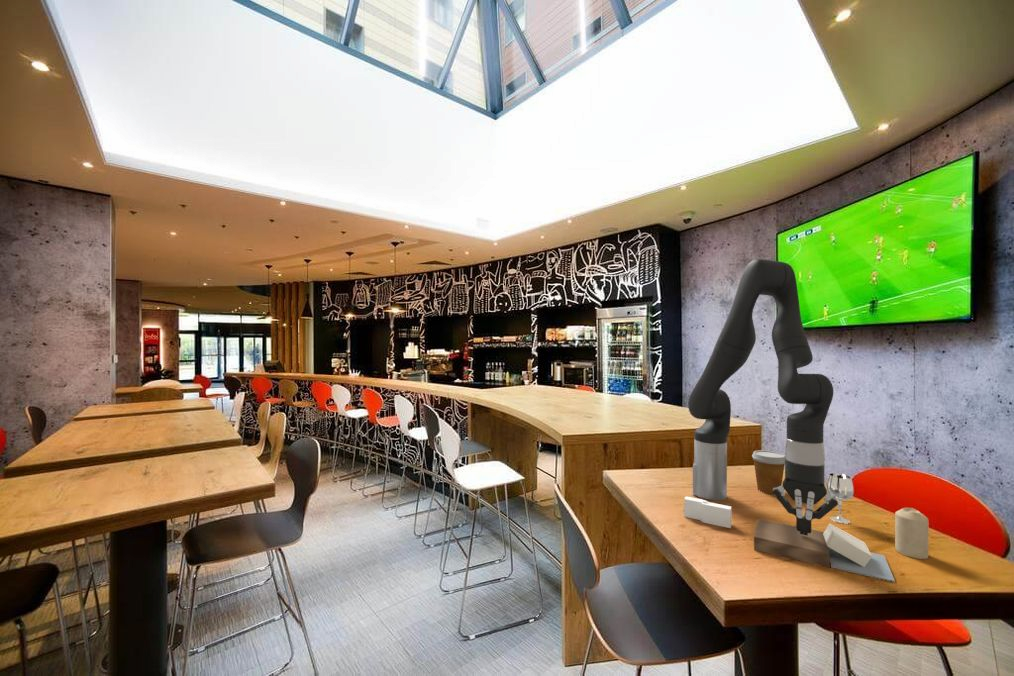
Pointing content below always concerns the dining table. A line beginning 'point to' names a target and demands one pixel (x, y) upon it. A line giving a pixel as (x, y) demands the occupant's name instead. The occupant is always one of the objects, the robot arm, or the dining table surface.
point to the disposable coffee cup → (768, 469)
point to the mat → (873, 568)
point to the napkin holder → (707, 512)
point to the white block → (847, 545)
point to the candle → (912, 533)
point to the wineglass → (840, 492)
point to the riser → (791, 543)
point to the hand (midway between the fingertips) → (803, 533)
